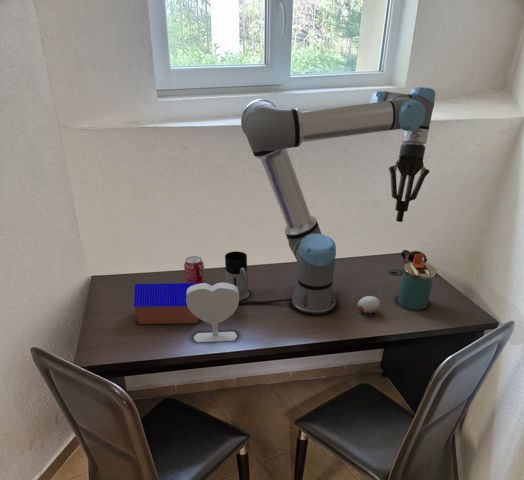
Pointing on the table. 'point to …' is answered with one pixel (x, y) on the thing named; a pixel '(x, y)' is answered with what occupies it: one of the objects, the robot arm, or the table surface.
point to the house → (163, 303)
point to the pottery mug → (411, 256)
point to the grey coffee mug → (237, 272)
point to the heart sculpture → (213, 308)
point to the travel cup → (416, 286)
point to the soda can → (194, 270)
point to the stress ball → (368, 304)
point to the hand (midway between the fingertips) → (399, 221)
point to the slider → (418, 261)
